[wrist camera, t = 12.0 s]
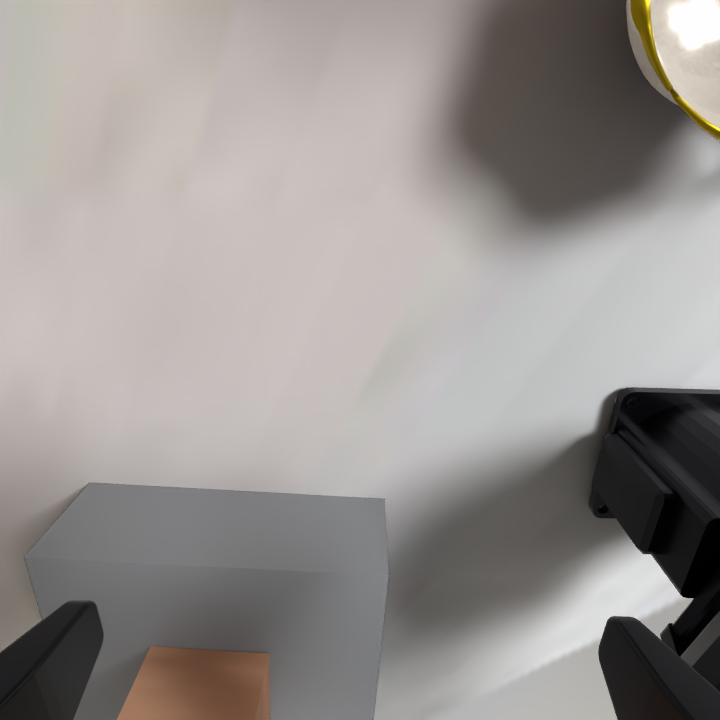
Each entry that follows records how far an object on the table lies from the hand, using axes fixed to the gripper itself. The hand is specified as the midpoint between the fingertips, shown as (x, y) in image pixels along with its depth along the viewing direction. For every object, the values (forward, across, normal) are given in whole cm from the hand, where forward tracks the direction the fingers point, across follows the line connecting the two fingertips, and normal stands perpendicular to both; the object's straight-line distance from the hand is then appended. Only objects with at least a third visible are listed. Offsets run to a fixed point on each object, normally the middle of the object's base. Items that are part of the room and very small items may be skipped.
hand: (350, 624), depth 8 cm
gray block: (+12, +6, +14) cm, 20 cm away
